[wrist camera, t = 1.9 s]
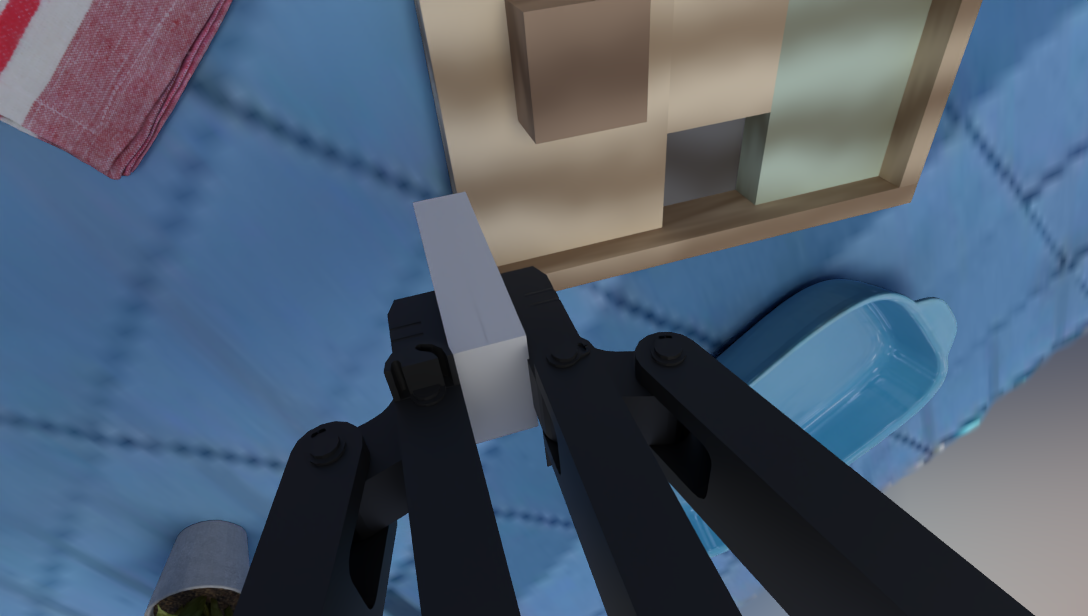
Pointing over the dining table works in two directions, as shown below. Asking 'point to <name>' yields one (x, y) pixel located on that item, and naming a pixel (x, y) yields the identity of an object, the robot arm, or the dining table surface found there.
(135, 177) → the dining table surface
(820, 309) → the casserole dish
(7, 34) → the dish towel
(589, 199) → the box
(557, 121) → the walnut block
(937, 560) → the robot arm
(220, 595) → the house plant
